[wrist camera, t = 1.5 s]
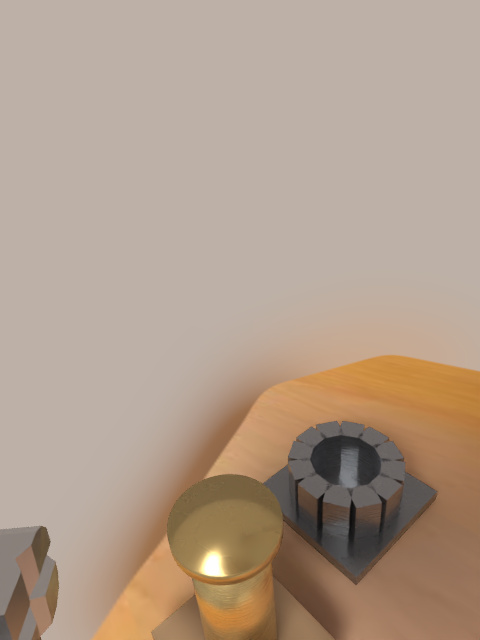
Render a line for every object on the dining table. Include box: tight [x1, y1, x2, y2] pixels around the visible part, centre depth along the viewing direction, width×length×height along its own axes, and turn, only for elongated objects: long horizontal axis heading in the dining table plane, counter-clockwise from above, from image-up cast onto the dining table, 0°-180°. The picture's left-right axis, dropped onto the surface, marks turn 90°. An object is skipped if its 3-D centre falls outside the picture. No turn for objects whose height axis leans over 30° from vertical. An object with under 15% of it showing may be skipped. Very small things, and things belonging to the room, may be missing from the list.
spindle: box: [167, 474, 283, 640], centre depth 28 cm, size 6×6×12 cm
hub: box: [263, 421, 437, 585], centre depth 42 cm, size 12×12×5 cm
